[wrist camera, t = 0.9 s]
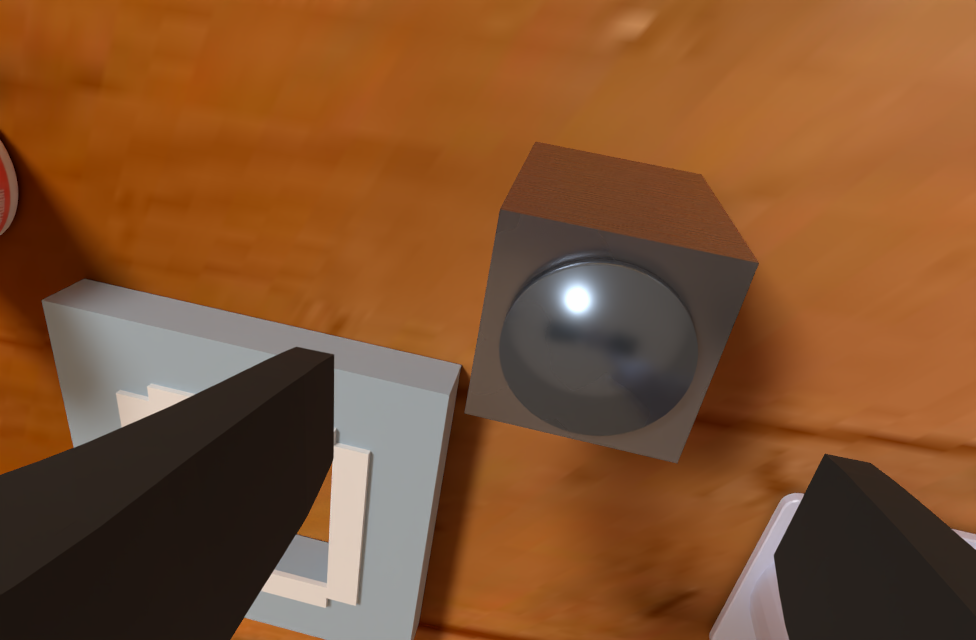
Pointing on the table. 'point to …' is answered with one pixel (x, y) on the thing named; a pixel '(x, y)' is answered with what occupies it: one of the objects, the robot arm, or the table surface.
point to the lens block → (607, 301)
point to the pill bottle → (7, 190)
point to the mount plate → (357, 442)
